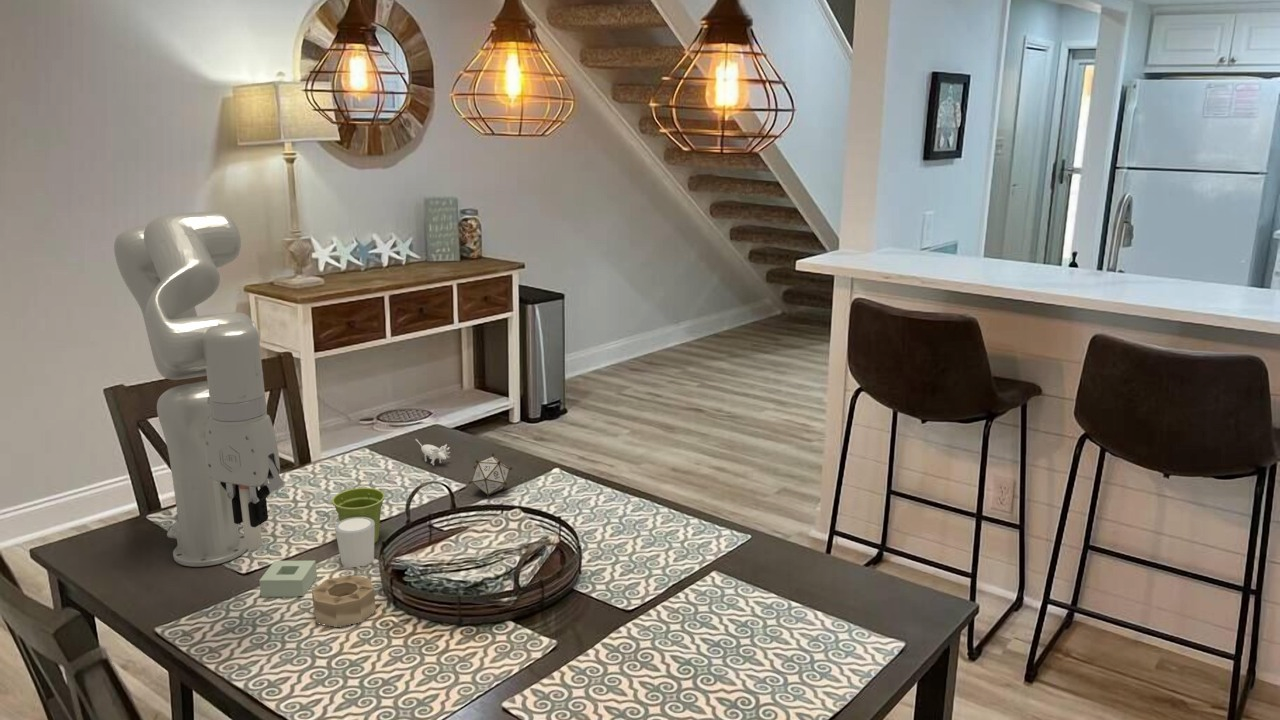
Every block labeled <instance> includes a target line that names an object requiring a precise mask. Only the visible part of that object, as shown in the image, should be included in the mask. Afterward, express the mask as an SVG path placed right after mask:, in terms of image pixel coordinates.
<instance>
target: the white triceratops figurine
mask: <svg viewBox="0 0 1280 720" xmlns="http://www.w3.org/2000/svg"><path fill="white" fill-rule="evenodd" d="M415 441H416V442H417V443H418V445H420V447H421V448H420V449H421V451H422V453H423V454H424V462H427V461H428V459H427V456H428V458H429V459H430V460H431V462H430V464H432V466H435V465H436V464H435V460H436V459H438V460H439V464H442V460H447V458H450V457H451V456H450V455H449V454H450V453H451V451H449V450H450V447H447V446H448V444H447V443H445V445H442V446H441V447H438V446H436V445H433V444H423V445H422V443H421V442H419V440H418V438H415Z"/></svg>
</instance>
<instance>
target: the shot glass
mask: <svg viewBox="0 0 1280 720" xmlns="http://www.w3.org/2000/svg"><path fill="white" fill-rule="evenodd" d="M333 527H334V531H335V537H336V541H337V547H338V552H339V556H340V562H341V565H342V566H344V567H345V566H346V567H345V568H350V567H357V568H361V567H360V566H363V567H365V566H368V565H370V564H371V563H373V561H374V560H375V543H374V535H375V523H374V520H372V519H371V518H367V517H352V518H347V519H344V520H341V521H340V520H339V521H338V522H337V523H336V524H335V525H334V526H333ZM369 563H370V564H369ZM367 564H368V565H367ZM364 565H365V566H364Z"/></svg>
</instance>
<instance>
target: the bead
mask: <svg viewBox="0 0 1280 720" xmlns="http://www.w3.org/2000/svg"><path fill="white" fill-rule="evenodd" d="M311 593H312V594H311V595H312V596H311V597H312V604H313V605H312V606H313V614H314V617H316V618H315V621H316V620H317V621H316V624H317V623H320V624H325V625H330V626H334V627H333V628H335V627H340V626H344V627H347V626H346V625H349V626H352V625H351V624H353V625H355V624H354V623H358V624H360V623H359V622H362V623H363V622H364V621H365V620H364V619H366V618H367V617H368V618H370V615H371V614H372V615H373V614H374V613H375V612H376V611H377V610H376V608H377V607H376V598H375V587H374V585H373V583H372V581H371V579H370V578H369V577H364V576H357V575H351V574H349V575H343V576H338V577H333V578H328V579H326V580H323V582H321V583H320V584H318V585H317V586H315V587H314V588H313V589H312V590H311ZM374 611H375V612H374ZM372 615H371V616H372ZM368 618H367V619H368ZM367 619H366V620H367ZM363 620H364V621H363ZM320 624H319V625H320ZM325 625H324V626H325ZM330 626H329V627H330ZM340 628H341V627H340Z"/></svg>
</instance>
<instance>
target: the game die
mask: <svg viewBox="0 0 1280 720" xmlns="http://www.w3.org/2000/svg"><path fill="white" fill-rule="evenodd" d="M475 463H476V465H473V469H475V470H474V472H473V476H472V479H471V480H469V481H468V482H467V484H469V485H471V484H473V485H474V486H476V487H477V488H479V490H481V491H482V492H483V493H485V494H486V498H487V500H488V499H489V498H490V495H492V494H494V493H496V492H498V491H500V490H502V491H503V492H506V488H505V486H509V484H508V482H507V479H508V476H509V472H510V471H511V470H513V469H514V467H508V466H507V465H505V464H504V463H503V462H502V461H501V460H500V459H497V458H496V456H495V453H494V452H492V453H491V456H490V457H488V458H485V459H482V460H480V461H479V460H478V459H475Z"/></svg>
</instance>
